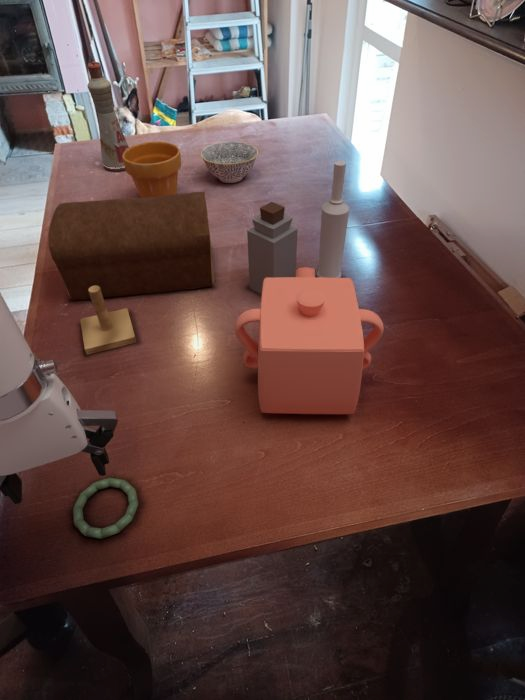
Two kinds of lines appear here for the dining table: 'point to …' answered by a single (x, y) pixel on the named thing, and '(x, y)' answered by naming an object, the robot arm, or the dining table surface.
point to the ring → (112, 529)
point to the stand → (105, 326)
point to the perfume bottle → (271, 246)
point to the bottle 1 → (107, 119)
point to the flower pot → (153, 168)
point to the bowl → (229, 160)
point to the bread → (133, 245)
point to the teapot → (309, 344)
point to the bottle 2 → (333, 227)
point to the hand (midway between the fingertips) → (61, 479)
